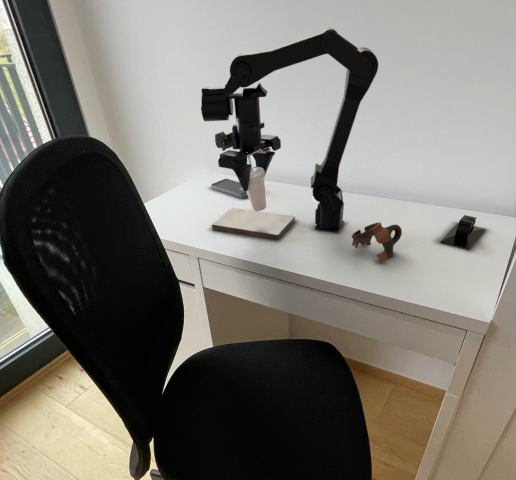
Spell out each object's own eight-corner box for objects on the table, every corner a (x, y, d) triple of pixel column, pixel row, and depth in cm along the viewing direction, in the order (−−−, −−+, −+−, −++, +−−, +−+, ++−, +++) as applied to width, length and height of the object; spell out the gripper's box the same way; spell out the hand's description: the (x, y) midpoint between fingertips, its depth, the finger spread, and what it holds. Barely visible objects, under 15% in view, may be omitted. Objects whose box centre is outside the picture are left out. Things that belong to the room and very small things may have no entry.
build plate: (469, 250, 96) (474, 232, 93) (438, 243, 100) (442, 225, 97) (485, 230, 103) (491, 212, 100) (456, 223, 107) (460, 206, 103)
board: (295, 221, 113) (295, 216, 112) (278, 240, 106) (277, 235, 105) (232, 212, 121) (232, 207, 120) (212, 229, 113) (211, 224, 112)
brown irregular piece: (372, 270, 93) (358, 237, 90) (353, 268, 102) (341, 238, 99) (415, 245, 94) (403, 212, 91) (393, 245, 103) (382, 215, 100)
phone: (209, 187, 136) (242, 198, 128) (209, 184, 136) (242, 195, 127) (226, 181, 140) (259, 191, 131) (226, 178, 140) (259, 188, 131)
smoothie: (271, 199, 111) (261, 147, 101) (271, 211, 106) (260, 158, 96) (248, 203, 112) (236, 152, 102) (247, 215, 107) (234, 163, 97)
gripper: (244, 108, 104) (249, 170, 114) (195, 126, 93) (206, 193, 103) (281, 111, 98) (282, 176, 109) (233, 130, 88) (240, 201, 98)
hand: (253, 186), depth 105 cm, fingers closed on smoothie, 6 cm apart
